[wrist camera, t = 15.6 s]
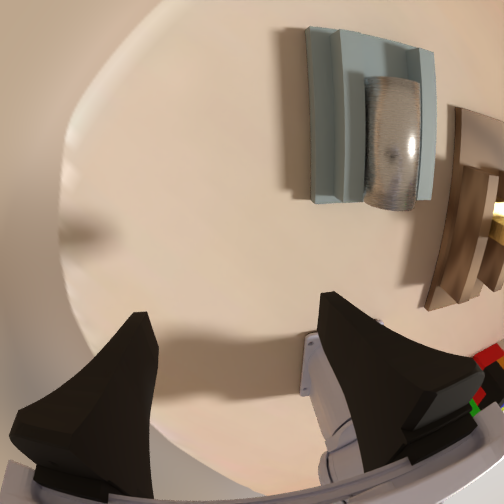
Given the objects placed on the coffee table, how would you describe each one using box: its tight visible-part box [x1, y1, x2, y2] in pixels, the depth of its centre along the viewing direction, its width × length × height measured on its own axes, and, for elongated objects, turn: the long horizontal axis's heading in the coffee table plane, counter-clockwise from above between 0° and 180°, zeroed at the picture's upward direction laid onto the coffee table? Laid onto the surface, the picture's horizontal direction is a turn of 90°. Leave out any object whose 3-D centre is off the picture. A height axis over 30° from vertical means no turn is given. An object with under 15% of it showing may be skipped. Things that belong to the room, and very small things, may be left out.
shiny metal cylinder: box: [363, 76, 421, 211], centre depth 16 cm, size 8×4×4 cm, turn 2°
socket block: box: [424, 107, 504, 312], centre depth 20 cm, size 20×9×4 cm, turn 2°
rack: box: [305, 26, 437, 204], centre depth 16 cm, size 12×10×3 cm
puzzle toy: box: [469, 339, 504, 417], centre depth 32 cm, size 10×10×10 cm
